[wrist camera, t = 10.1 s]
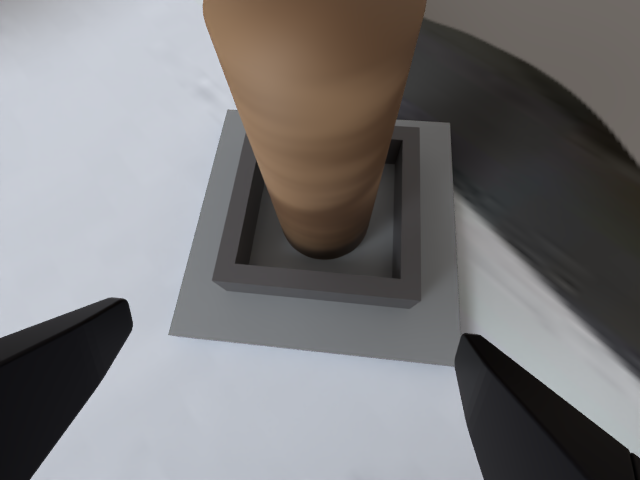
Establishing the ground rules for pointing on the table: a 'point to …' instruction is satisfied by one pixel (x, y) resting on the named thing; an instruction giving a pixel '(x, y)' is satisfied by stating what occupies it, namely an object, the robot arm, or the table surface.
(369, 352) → the collar
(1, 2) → the table surface
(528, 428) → the robot arm
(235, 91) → the peg
